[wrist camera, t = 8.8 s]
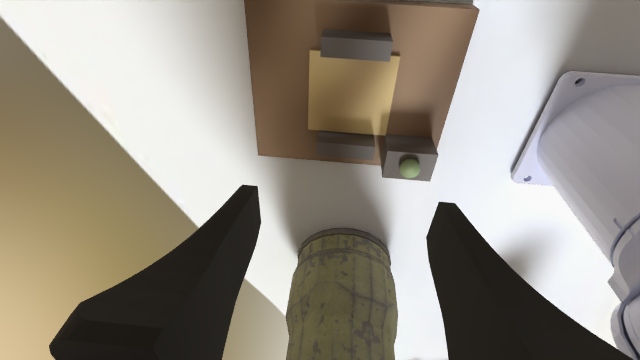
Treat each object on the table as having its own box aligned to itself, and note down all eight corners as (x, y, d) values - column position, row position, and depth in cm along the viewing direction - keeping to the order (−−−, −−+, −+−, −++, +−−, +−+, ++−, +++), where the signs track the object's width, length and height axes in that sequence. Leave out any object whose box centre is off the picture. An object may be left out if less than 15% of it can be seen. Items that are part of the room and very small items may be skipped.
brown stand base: (472, 4, 18) (495, 21, 15) (427, 159, 24) (437, 192, 21) (249, -10, 18) (230, 4, 15) (261, 146, 24) (249, 176, 22)
